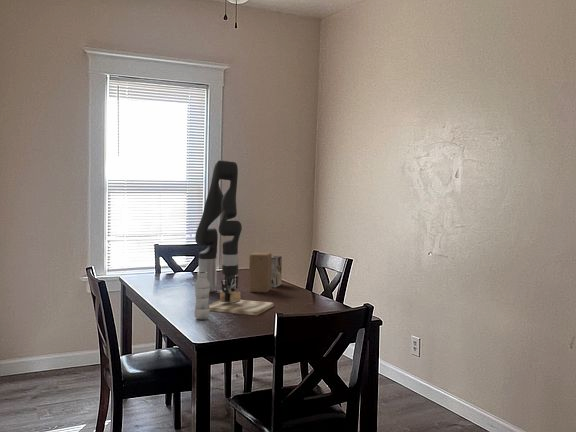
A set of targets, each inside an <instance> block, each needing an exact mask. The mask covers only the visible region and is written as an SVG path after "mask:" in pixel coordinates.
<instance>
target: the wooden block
mask: <svg viewBox="0 0 576 432" xmlns="http://www.w3.org/2000/svg"><path fill="white" fill-rule="evenodd" d="M272 256H273V254H272V253H271V252H266V251H265V252H262V251H260V252H259V251H255V252H253V253H250V254H249V258H248V259H249V262H248V263H249V264H248V265H249V266H248V268H249V270H248V271H249V275H248V276H249V277H248V278H249V279H248V290H249V292H250V293H264V294H266V293H268V292H269V291H271V289H272V287H271V259H272Z"/></svg>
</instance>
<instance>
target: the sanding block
mask: <svg viewBox="0 0 576 432" xmlns="http://www.w3.org/2000/svg"><path fill="white" fill-rule="evenodd" d="M219 300H220V302H228V303H237V302H240V301H241V300H242V299H241V291H237V290H236V291H231V290H230V301H225V293H224V292H222V291H219Z"/></svg>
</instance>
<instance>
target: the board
mask: <svg viewBox="0 0 576 432" xmlns="http://www.w3.org/2000/svg"><path fill="white" fill-rule="evenodd" d="M273 307H274V302H271V301H270V302H269V301H258V300H257V301H256V300H249V299H248V300H247V299H241V301H240V302H237V303H228V302H220V299H219V300H216V301H214V302H212V303H209V309H210V312H219V313H229V314H240V315H250V316H259V315H260V314H262V313H264V312H266V311H267V310H269V309H271V308H273Z"/></svg>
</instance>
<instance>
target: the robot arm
mask: <svg viewBox="0 0 576 432" xmlns="http://www.w3.org/2000/svg"><path fill="white" fill-rule="evenodd" d="M238 171H239V169H238V164H237V163H236V161H230V160H222V159H218V160H216V162H215V163H214V167H213V170H212V176H211V182H210V185H209V190H208V194H207V196H206V199H205V203H204V207H203V211H202V216H201V217H200V222H199V224H198V226H197V228H196V231H195V238H194V239H195V243H196V244H197V245H198V246H207V247H206V248H205V249H204V250H201V251H200V252H199V253H198V272H207V277H206V278H207V280H208V281H209V282H210V292H209V293H212V292H216V291H217V253H218V242H219V241H218V240H219V239H218V238H219V236H218V235H219V234H220V236H222V237H232V239H230V240H224V242H223V243H222V258H221V273H222V275H224V279H222V280H221V292H224V293H225V301H230V291H237V289H238V288H239V286H238V285H239V255H238V254H239V249H238V248H239V239H240V237H241V233H242V230H243V229H242V228H243V226H242V223H241V221H239V220H231V219H234V218H236V216H238V215H237V214H238V209H237V190H238V189H237V188H238V175H239V174H238ZM220 180H223V181H229V186H228V188H227V190H226V191H225V193H224V194H223V192H222V189H221V187H220ZM220 215H221V216H220ZM219 217H220V221H219V226H218V230H217V228H215V227H210V225H211V224H212V223H213V222H214V221H216V220H217V219H218V218H219ZM218 233H219V234H218ZM198 272H197V273H196V281H197V280H198V278H199V277H198Z"/></svg>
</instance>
